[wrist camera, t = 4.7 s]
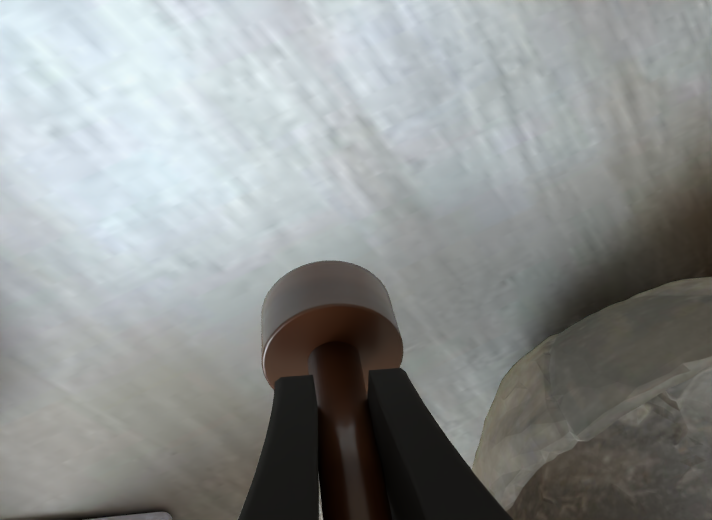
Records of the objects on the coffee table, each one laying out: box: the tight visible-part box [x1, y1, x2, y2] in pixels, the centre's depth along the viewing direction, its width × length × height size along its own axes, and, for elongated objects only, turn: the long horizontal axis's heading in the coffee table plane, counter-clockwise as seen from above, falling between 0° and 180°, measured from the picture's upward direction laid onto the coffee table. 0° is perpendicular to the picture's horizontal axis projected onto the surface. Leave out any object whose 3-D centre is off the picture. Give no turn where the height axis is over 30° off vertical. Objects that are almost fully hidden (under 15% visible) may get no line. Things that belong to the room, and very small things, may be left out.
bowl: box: [472, 277, 712, 520], centre depth 24 cm, size 18×18×8 cm
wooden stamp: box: [261, 261, 403, 520], centre depth 11 cm, size 3×3×8 cm
